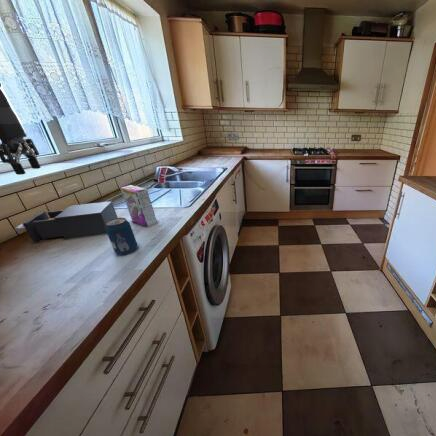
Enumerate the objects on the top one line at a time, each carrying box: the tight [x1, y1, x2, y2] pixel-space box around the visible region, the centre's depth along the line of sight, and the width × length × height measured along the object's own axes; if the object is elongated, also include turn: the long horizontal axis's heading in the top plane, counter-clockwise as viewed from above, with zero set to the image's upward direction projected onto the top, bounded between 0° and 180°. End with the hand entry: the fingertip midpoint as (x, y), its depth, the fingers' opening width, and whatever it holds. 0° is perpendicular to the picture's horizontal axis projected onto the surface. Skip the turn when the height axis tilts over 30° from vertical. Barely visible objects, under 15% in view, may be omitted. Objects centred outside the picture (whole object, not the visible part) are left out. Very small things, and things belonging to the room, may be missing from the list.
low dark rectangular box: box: [54, 200, 119, 240], centre depth 94 cm, size 15×13×10 cm
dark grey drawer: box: [14, 209, 65, 242], centre depth 90 cm, size 18×11×8 cm, turn 109°
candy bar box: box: [120, 184, 158, 227], centre depth 98 cm, size 11×5×16 cm, turn 63°
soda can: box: [105, 217, 138, 256], centre depth 79 cm, size 7×7×12 cm
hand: (29, 171), depth 82 cm, fingers open, 8 cm apart
